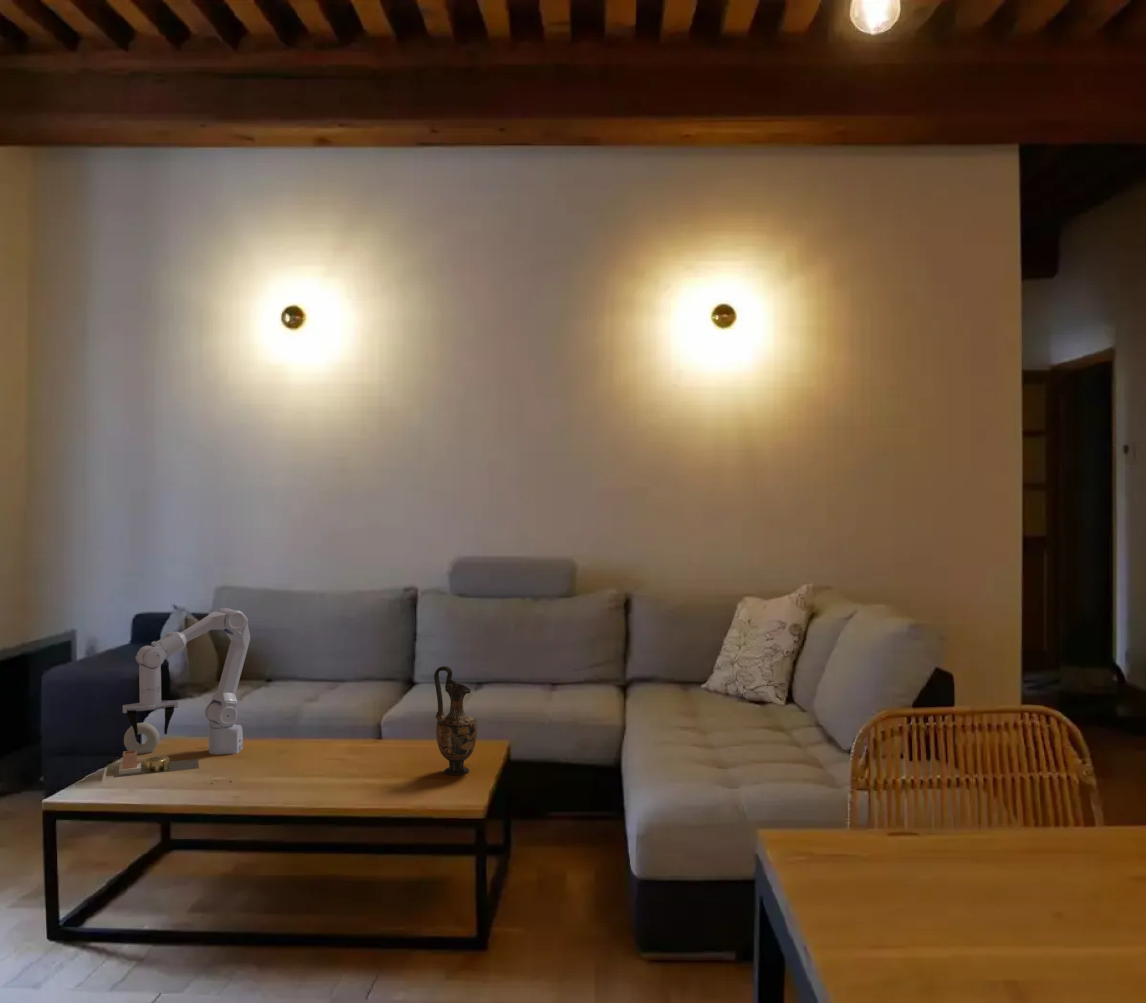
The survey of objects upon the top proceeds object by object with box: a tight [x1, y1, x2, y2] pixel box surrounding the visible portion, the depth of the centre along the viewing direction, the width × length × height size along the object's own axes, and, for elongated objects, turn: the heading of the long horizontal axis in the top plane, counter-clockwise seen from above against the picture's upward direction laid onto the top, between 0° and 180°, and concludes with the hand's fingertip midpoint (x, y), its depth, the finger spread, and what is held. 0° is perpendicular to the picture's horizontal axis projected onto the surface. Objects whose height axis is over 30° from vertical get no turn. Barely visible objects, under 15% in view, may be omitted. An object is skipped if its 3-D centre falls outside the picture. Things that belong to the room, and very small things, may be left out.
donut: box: [123, 722, 160, 755], centre depth 286 cm, size 10×4×10 cm, turn 102°
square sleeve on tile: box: [118, 750, 142, 775], centre depth 267 cm, size 6×6×5 cm
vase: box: [433, 665, 478, 776], centre depth 271 cm, size 12×12×30 cm
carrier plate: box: [113, 755, 200, 779], centre depth 270 cm, size 22×10×4 cm, turn 114°
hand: (151, 735), depth 273 cm, fingers open, 7 cm apart
